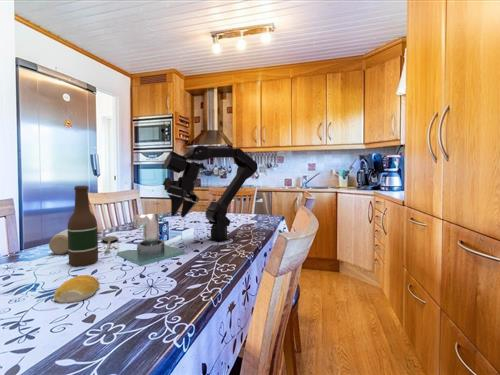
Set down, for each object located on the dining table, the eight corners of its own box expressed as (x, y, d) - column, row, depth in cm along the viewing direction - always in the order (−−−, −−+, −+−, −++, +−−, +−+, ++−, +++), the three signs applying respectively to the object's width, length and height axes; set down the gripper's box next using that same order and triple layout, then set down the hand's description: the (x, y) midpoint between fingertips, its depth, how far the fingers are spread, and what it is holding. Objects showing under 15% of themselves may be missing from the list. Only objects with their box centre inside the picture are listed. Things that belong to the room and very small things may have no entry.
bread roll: (102, 285, 67) (102, 269, 66) (90, 301, 58) (89, 283, 58) (65, 288, 65) (64, 272, 64) (46, 306, 56) (46, 287, 56)
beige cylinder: (47, 256, 89) (46, 233, 89) (60, 249, 97) (59, 228, 97) (81, 255, 91) (81, 232, 91) (91, 248, 99) (91, 228, 99)
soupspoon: (119, 241, 114) (101, 243, 111) (118, 233, 113) (101, 235, 111) (117, 253, 94) (95, 256, 91) (116, 243, 93) (95, 246, 91)
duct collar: (159, 245, 102) (159, 235, 102) (184, 253, 92) (184, 242, 92) (117, 255, 90) (116, 243, 90) (140, 265, 80) (140, 252, 80)
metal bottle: (155, 248, 95) (154, 211, 94) (161, 251, 91) (160, 213, 90) (133, 252, 89) (132, 213, 89) (139, 256, 86) (138, 215, 85)
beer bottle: (84, 268, 78) (81, 186, 77) (62, 266, 80) (59, 186, 78) (104, 259, 86) (101, 185, 84) (83, 258, 87) (81, 185, 86)
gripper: (179, 177, 113) (168, 213, 110) (159, 166, 94) (146, 208, 92) (204, 183, 111) (193, 220, 109) (188, 173, 93) (175, 217, 90)
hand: (177, 216), depth 100 cm, fingers open, 9 cm apart
